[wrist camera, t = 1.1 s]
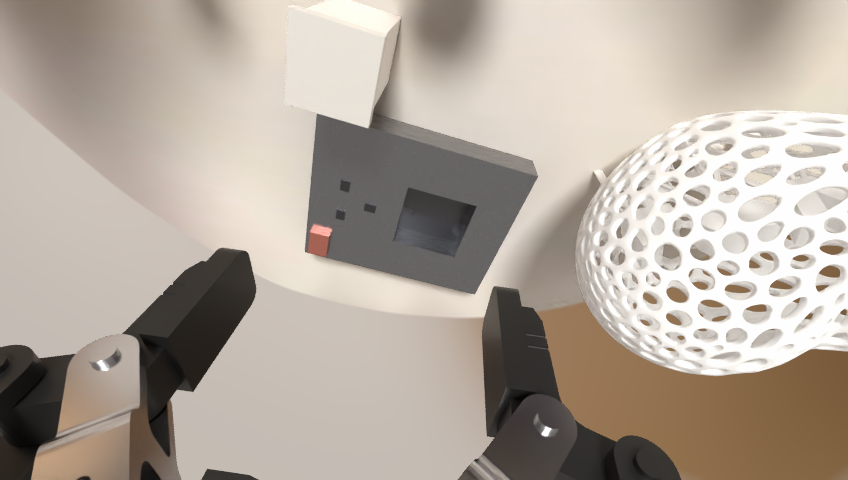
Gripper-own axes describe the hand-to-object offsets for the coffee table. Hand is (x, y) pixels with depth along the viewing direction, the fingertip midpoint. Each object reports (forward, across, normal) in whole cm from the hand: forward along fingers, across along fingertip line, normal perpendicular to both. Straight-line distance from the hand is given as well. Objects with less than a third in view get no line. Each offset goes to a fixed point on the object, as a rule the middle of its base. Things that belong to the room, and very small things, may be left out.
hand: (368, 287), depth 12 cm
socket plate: (+19, 0, +7) cm, 20 cm away
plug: (+18, +4, -5) cm, 19 cm away
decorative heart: (+19, -18, 0) cm, 26 cm away
